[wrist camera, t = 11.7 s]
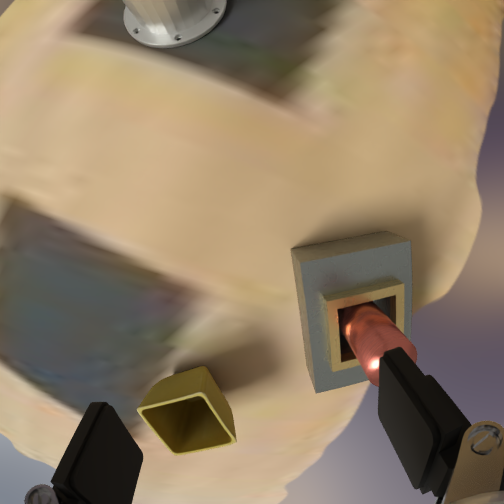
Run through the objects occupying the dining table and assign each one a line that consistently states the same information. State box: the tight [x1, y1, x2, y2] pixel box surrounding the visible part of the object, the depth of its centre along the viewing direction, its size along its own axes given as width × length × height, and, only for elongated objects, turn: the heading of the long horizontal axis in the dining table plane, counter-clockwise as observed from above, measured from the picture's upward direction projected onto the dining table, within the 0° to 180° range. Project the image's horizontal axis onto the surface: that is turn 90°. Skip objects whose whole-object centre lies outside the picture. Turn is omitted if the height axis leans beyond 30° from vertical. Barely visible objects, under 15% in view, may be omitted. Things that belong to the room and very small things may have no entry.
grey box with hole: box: [291, 231, 412, 393], centre depth 33 cm, size 16×12×8 cm
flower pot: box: [137, 366, 237, 456], centre depth 35 cm, size 9×9×9 cm
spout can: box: [337, 301, 417, 387], centre depth 27 cm, size 5×5×15 cm
